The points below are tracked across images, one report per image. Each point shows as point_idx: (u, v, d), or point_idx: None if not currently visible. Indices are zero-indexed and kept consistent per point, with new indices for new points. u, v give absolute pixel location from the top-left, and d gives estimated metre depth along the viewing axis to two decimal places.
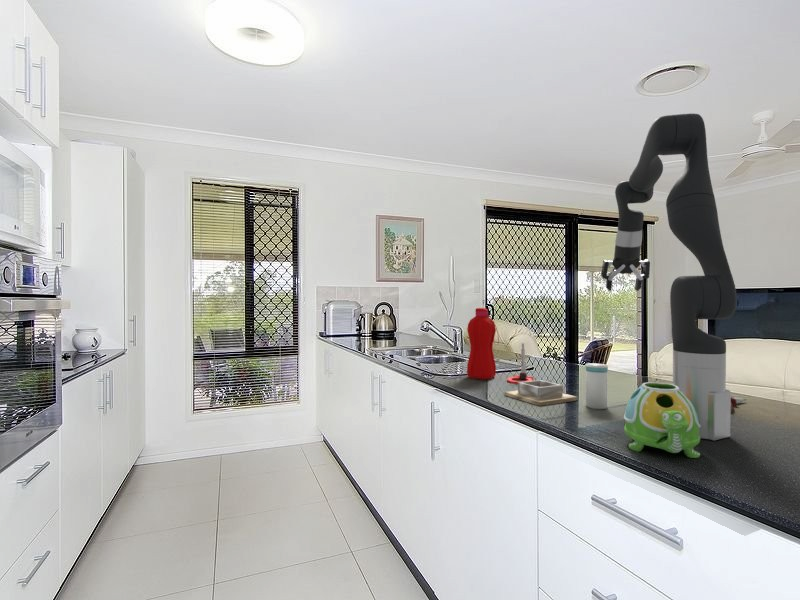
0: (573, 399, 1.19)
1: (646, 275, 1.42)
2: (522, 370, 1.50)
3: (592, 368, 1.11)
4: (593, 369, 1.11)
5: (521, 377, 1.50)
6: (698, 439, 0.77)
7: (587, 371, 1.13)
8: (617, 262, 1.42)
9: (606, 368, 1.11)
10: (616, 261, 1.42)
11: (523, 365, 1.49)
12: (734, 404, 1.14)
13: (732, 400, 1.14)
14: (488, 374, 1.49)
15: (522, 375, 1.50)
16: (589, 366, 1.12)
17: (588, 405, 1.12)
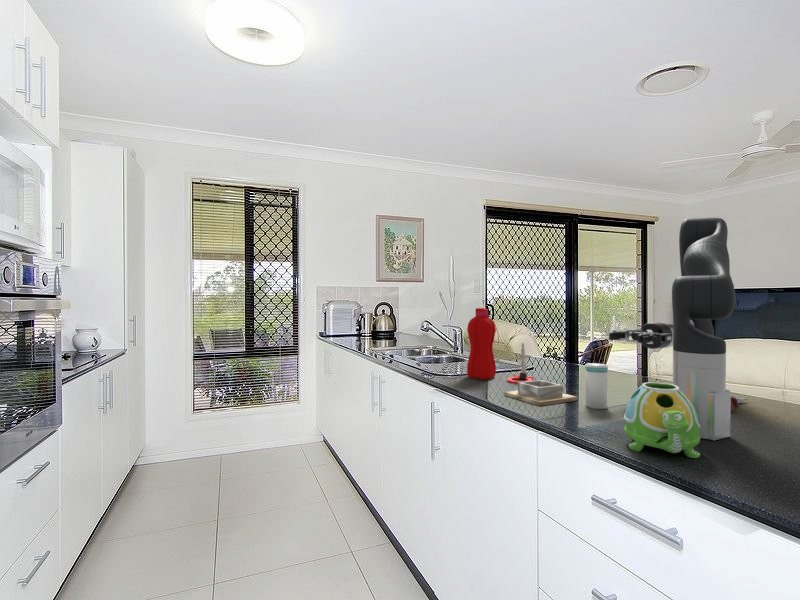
0: (573, 399, 1.19)
1: (659, 334, 1.15)
2: (522, 370, 1.50)
3: (592, 368, 1.11)
4: (593, 369, 1.11)
5: (521, 377, 1.50)
6: (698, 439, 0.77)
7: (587, 371, 1.13)
8: None
9: (606, 368, 1.11)
10: None
11: (523, 365, 1.49)
12: (735, 404, 1.14)
13: (733, 400, 1.14)
14: (488, 374, 1.49)
15: (522, 375, 1.50)
16: (589, 366, 1.12)
17: (588, 405, 1.12)
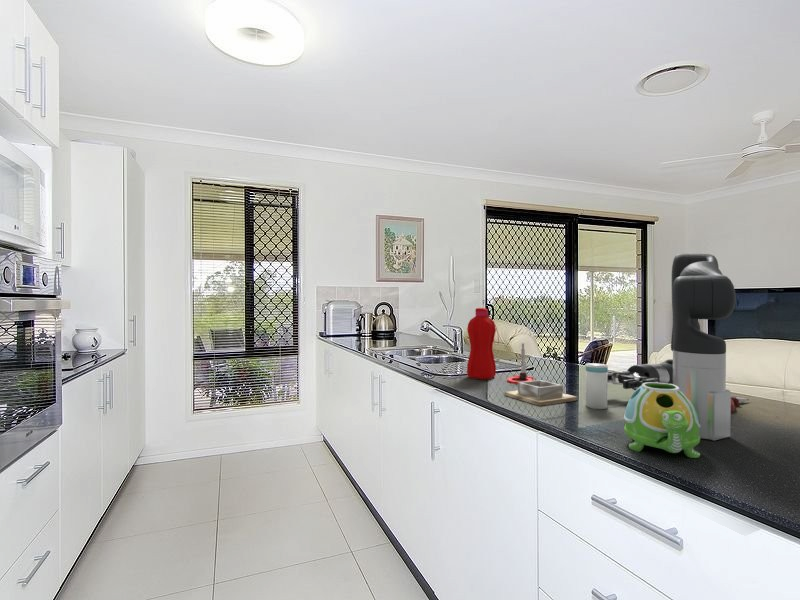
0: (573, 399, 1.19)
1: None
2: (522, 370, 1.50)
3: (592, 368, 1.11)
4: (593, 369, 1.11)
5: (521, 377, 1.50)
6: (698, 439, 0.77)
7: (587, 371, 1.13)
8: None
9: (606, 368, 1.11)
10: None
11: (523, 365, 1.49)
12: (737, 404, 1.14)
13: (735, 400, 1.14)
14: (488, 374, 1.49)
15: (522, 375, 1.50)
16: (589, 366, 1.12)
17: (588, 405, 1.12)
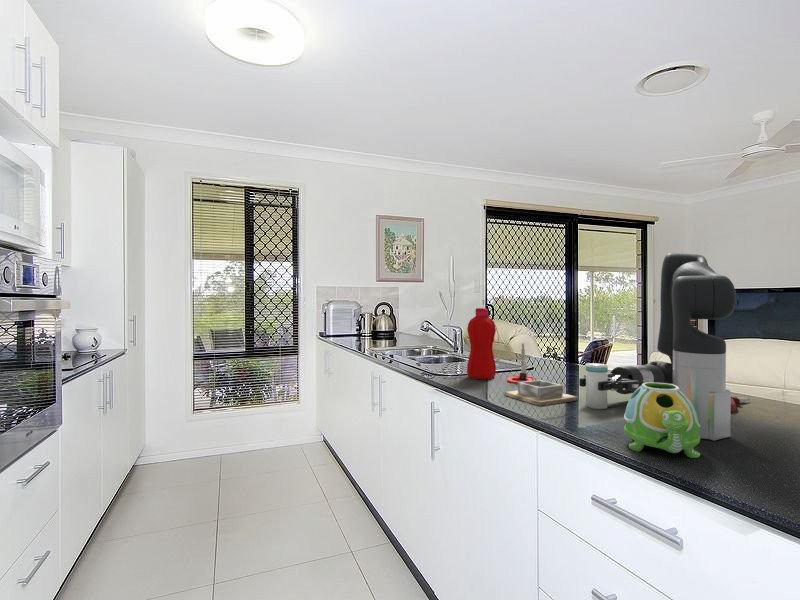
0: (573, 399, 1.19)
1: (621, 381, 1.10)
2: (522, 370, 1.50)
3: (592, 368, 1.11)
4: (593, 369, 1.11)
5: (521, 377, 1.50)
6: (698, 439, 0.77)
7: (587, 371, 1.13)
8: None
9: (606, 368, 1.11)
10: None
11: (523, 365, 1.49)
12: (738, 404, 1.14)
13: (736, 400, 1.14)
14: (488, 374, 1.49)
15: (522, 375, 1.50)
16: (589, 366, 1.12)
17: (588, 405, 1.12)
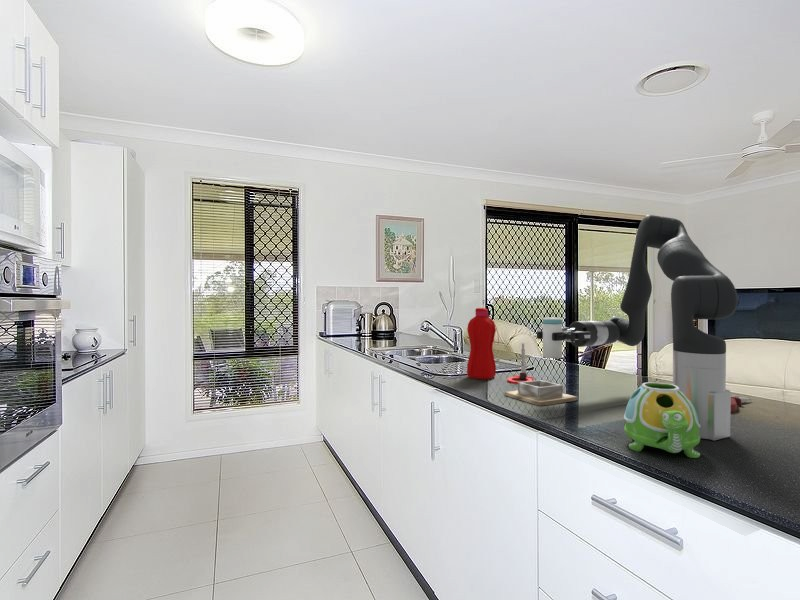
0: (573, 399, 1.19)
1: (573, 332, 1.18)
2: (522, 370, 1.50)
3: (547, 320, 1.20)
4: (548, 321, 1.19)
5: (521, 377, 1.50)
6: (698, 439, 0.77)
7: (543, 323, 1.21)
8: None
9: (560, 320, 1.19)
10: None
11: (523, 365, 1.49)
12: (739, 404, 1.14)
13: (737, 400, 1.15)
14: (488, 374, 1.49)
15: (522, 375, 1.50)
16: (545, 319, 1.20)
17: (544, 355, 1.21)
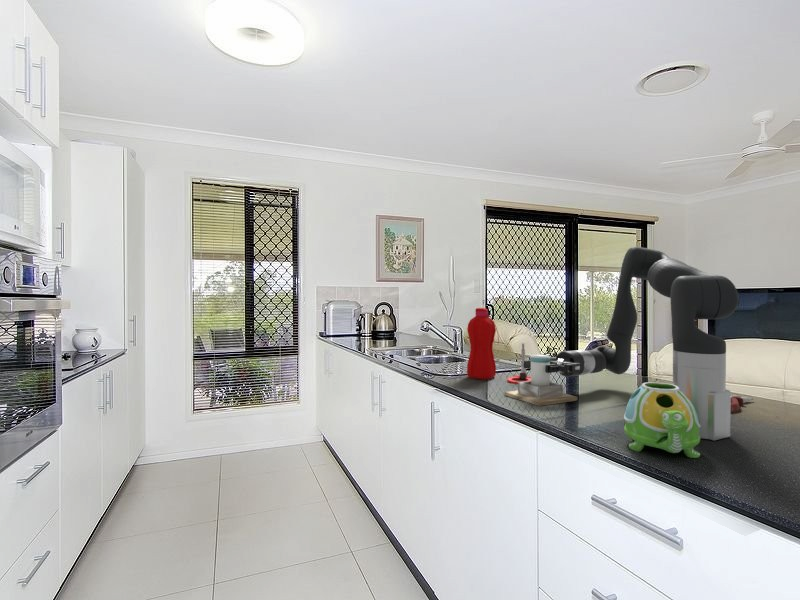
0: (573, 399, 1.19)
1: (566, 364, 1.19)
2: (522, 370, 1.50)
3: (535, 358, 1.21)
4: (536, 359, 1.21)
5: (521, 377, 1.50)
6: (698, 439, 0.77)
7: (531, 361, 1.23)
8: None
9: (548, 358, 1.21)
10: None
11: (523, 365, 1.49)
12: (741, 403, 1.15)
13: (739, 399, 1.15)
14: (488, 374, 1.49)
15: (522, 375, 1.50)
16: (533, 357, 1.22)
17: None
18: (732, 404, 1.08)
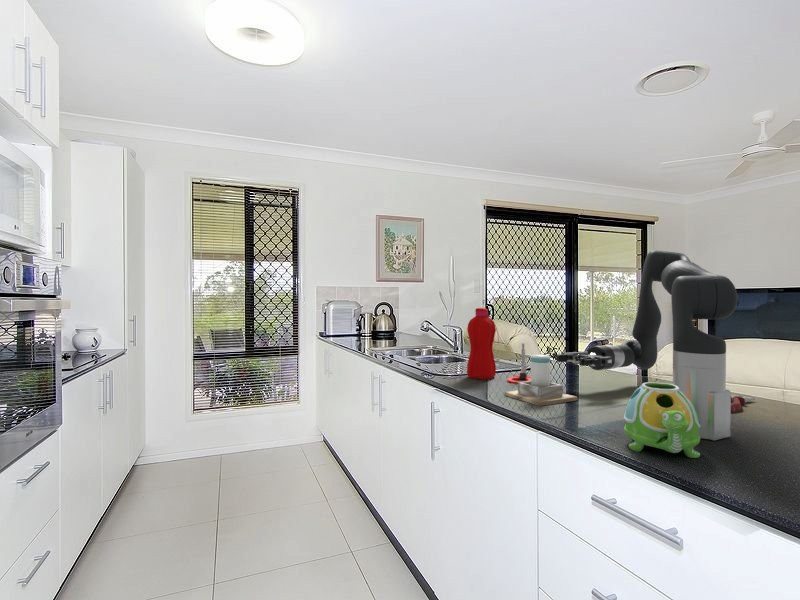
0: (573, 399, 1.19)
1: (599, 357, 1.25)
2: (522, 370, 1.49)
3: (535, 358, 1.21)
4: (536, 360, 1.21)
5: (521, 377, 1.50)
6: (698, 439, 0.77)
7: (531, 361, 1.22)
8: None
9: (548, 359, 1.21)
10: None
11: (523, 365, 1.49)
12: (743, 403, 1.15)
13: (741, 399, 1.15)
14: (488, 374, 1.49)
15: (522, 375, 1.49)
16: (533, 357, 1.22)
17: None
18: (734, 404, 1.09)
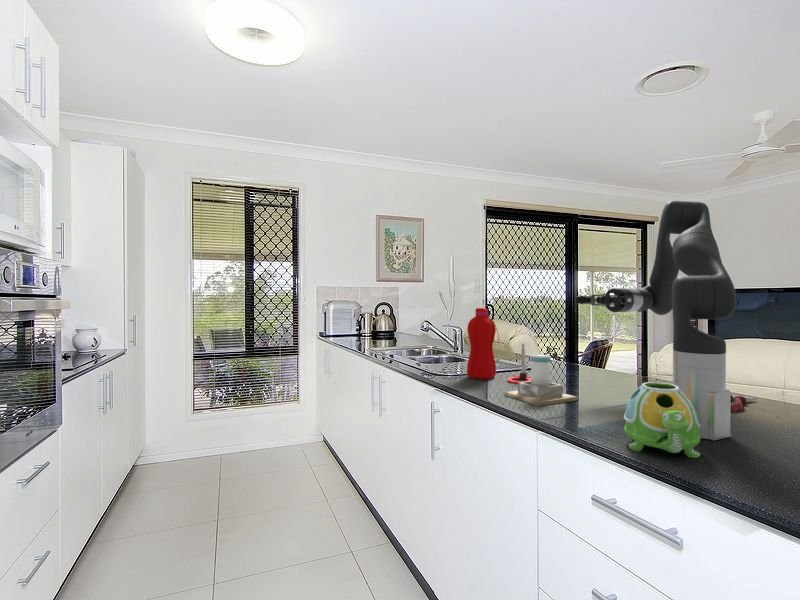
0: (573, 399, 1.19)
1: None
2: (522, 370, 1.49)
3: (535, 358, 1.21)
4: (536, 359, 1.21)
5: (521, 377, 1.50)
6: (698, 439, 0.77)
7: (531, 361, 1.23)
8: None
9: (548, 358, 1.21)
10: None
11: (523, 365, 1.49)
12: (744, 403, 1.15)
13: (742, 399, 1.16)
14: (488, 374, 1.49)
15: (522, 375, 1.49)
16: (533, 356, 1.22)
17: None
18: (735, 404, 1.09)
